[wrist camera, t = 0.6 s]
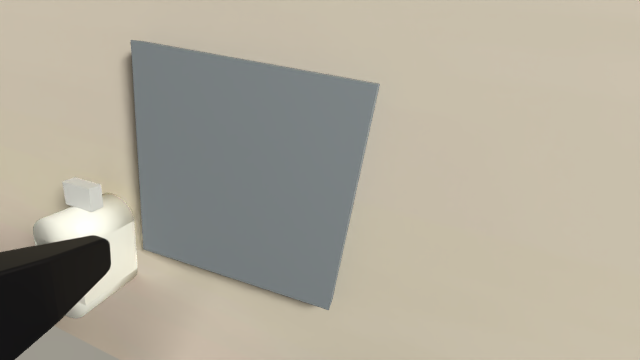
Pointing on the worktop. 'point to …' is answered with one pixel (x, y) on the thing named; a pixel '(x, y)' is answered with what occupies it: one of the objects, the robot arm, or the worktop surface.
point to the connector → (94, 219)
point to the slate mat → (248, 166)
